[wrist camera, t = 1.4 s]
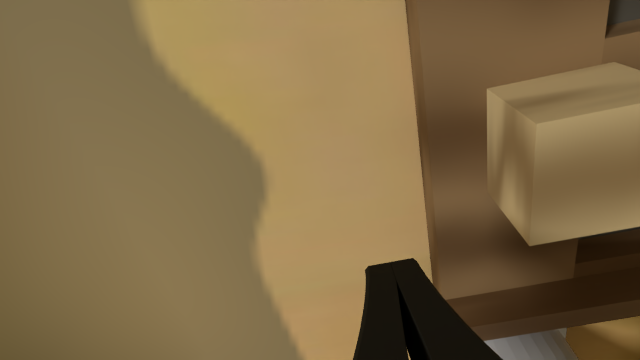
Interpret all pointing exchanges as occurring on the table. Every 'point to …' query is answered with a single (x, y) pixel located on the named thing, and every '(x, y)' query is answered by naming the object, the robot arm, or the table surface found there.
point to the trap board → (471, 162)
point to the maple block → (566, 152)
